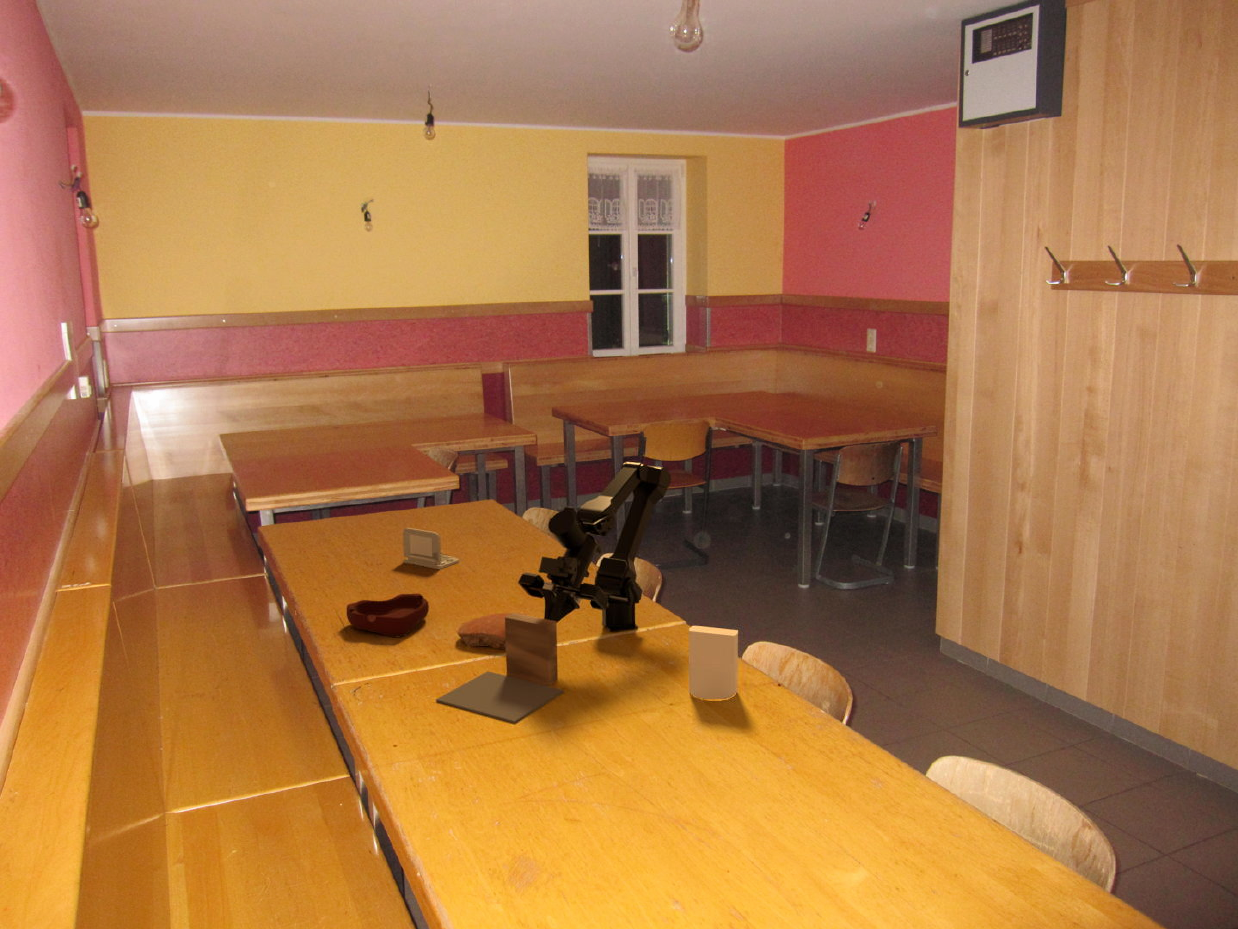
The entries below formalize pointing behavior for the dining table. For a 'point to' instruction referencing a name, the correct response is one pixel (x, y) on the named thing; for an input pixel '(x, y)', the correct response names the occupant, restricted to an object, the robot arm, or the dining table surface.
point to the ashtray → (388, 614)
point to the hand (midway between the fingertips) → (546, 628)
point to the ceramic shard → (485, 631)
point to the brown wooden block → (531, 649)
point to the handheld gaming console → (425, 549)
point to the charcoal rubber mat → (500, 696)
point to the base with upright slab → (713, 662)
